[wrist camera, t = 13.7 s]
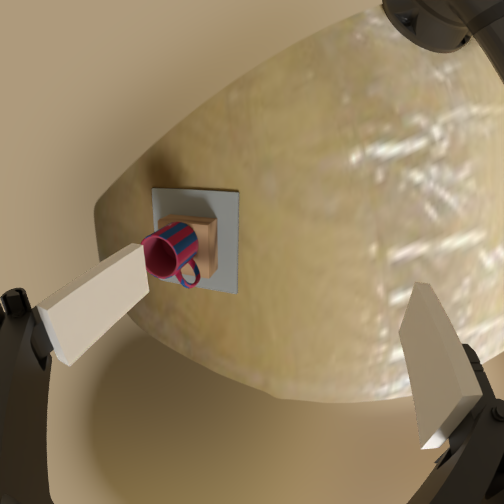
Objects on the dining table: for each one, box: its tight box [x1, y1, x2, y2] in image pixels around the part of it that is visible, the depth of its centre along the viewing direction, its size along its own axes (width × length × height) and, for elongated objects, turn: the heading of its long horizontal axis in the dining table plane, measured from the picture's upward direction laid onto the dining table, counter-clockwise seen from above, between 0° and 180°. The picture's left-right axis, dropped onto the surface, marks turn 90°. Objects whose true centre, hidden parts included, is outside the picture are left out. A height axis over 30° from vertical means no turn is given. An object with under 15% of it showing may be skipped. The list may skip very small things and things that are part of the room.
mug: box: [140, 222, 201, 288], centre depth 42 cm, size 7×10×7 cm
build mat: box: [152, 188, 239, 294], centre depth 49 cm, size 18×16×1 cm
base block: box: [158, 214, 218, 279], centre depth 47 cm, size 9×9×4 cm
